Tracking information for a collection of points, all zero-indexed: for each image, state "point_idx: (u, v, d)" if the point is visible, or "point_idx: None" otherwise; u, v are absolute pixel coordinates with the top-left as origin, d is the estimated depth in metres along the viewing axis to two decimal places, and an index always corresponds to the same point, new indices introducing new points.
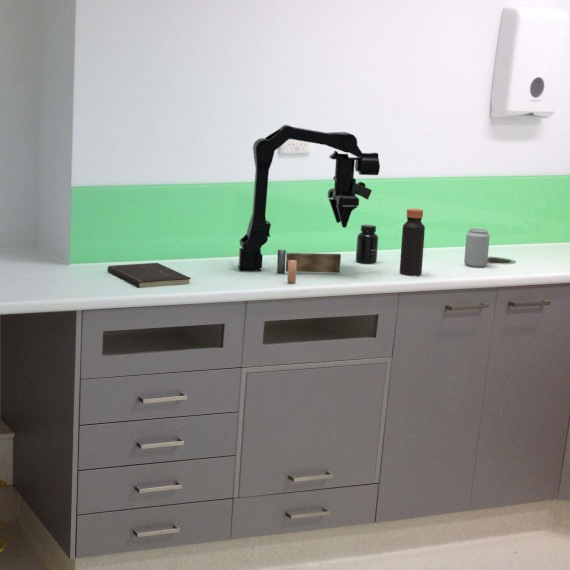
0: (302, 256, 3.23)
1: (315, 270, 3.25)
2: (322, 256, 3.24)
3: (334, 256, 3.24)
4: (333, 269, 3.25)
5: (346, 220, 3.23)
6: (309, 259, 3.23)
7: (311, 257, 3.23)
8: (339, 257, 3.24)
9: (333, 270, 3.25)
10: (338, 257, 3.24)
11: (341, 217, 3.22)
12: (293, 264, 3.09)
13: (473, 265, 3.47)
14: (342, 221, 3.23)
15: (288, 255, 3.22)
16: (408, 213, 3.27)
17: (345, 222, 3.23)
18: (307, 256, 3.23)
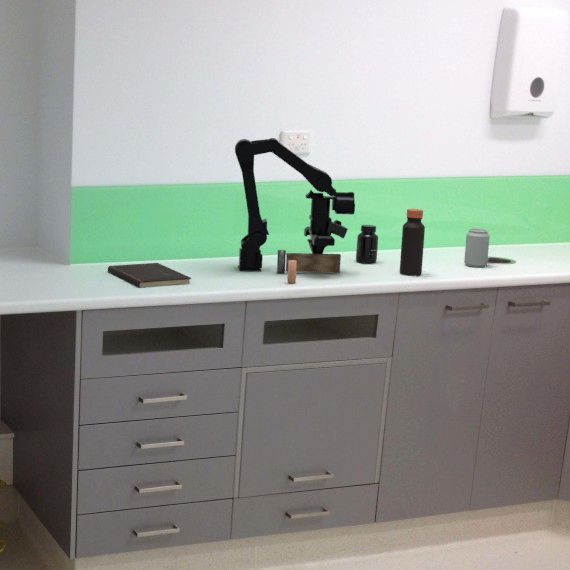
0: (302, 256, 3.23)
1: (315, 270, 3.25)
2: (322, 256, 3.24)
3: (334, 256, 3.24)
4: (333, 269, 3.25)
5: None
6: (309, 259, 3.23)
7: (311, 257, 3.23)
8: (339, 257, 3.24)
9: (333, 270, 3.25)
10: (338, 257, 3.24)
11: None
12: (293, 264, 3.09)
13: (473, 265, 3.47)
14: None
15: (288, 255, 3.22)
16: (408, 213, 3.27)
17: None
18: (307, 256, 3.23)
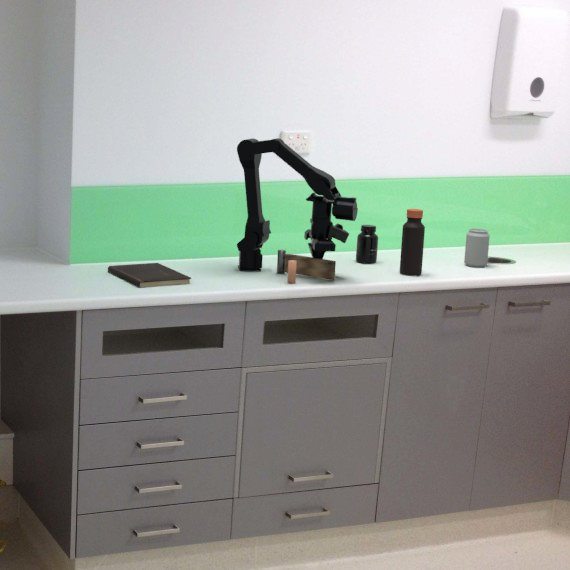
0: (297, 258, 3.19)
1: (310, 274, 3.18)
2: (315, 261, 3.16)
3: (326, 262, 3.14)
4: (326, 276, 3.15)
5: None
6: (304, 262, 3.18)
7: (306, 260, 3.18)
8: (331, 264, 3.13)
9: (326, 277, 3.15)
10: (330, 264, 3.13)
11: None
12: (293, 264, 3.09)
13: (473, 265, 3.47)
14: None
15: (285, 256, 3.21)
16: (408, 213, 3.27)
17: None
18: (302, 259, 3.18)
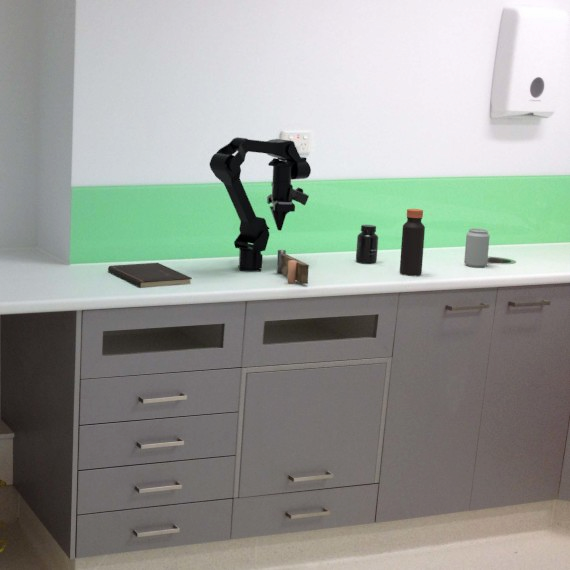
0: (286, 259, 3.17)
1: None
2: None
3: (300, 265, 3.08)
4: (300, 279, 3.09)
5: (281, 223, 3.33)
6: None
7: None
8: (302, 267, 3.06)
9: (300, 280, 3.09)
10: (301, 267, 3.07)
11: (276, 220, 3.32)
12: (293, 264, 3.09)
13: (473, 265, 3.47)
14: (277, 224, 3.33)
15: (281, 256, 3.20)
16: (408, 213, 3.27)
17: (280, 225, 3.33)
18: None
